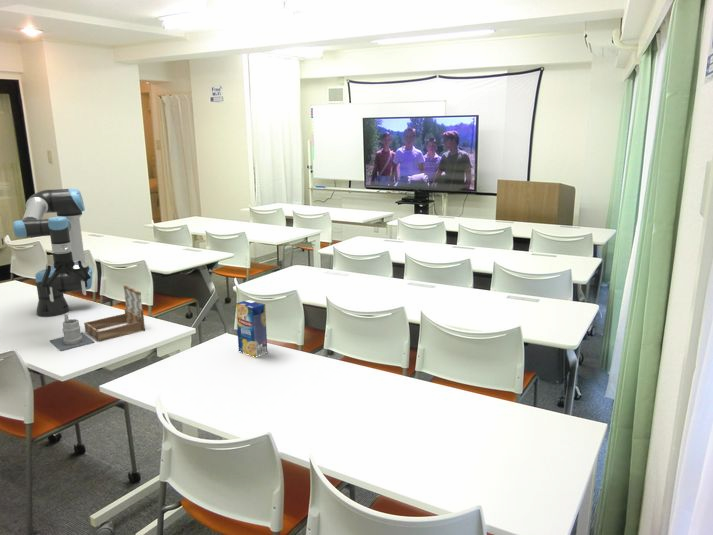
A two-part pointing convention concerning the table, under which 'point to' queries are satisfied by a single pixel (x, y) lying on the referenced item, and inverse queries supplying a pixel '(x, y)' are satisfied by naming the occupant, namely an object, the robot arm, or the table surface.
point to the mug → (71, 331)
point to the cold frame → (120, 319)
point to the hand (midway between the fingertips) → (68, 297)
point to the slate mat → (62, 346)
